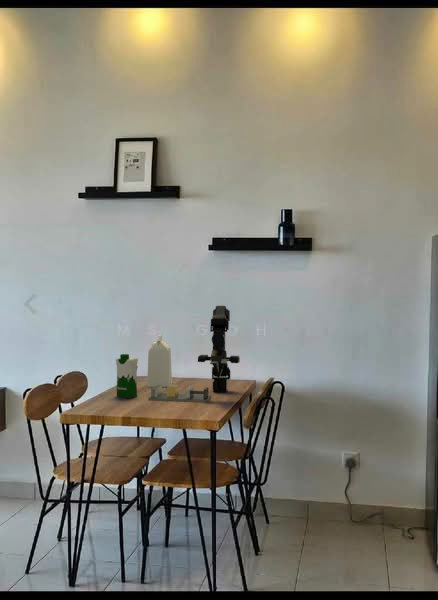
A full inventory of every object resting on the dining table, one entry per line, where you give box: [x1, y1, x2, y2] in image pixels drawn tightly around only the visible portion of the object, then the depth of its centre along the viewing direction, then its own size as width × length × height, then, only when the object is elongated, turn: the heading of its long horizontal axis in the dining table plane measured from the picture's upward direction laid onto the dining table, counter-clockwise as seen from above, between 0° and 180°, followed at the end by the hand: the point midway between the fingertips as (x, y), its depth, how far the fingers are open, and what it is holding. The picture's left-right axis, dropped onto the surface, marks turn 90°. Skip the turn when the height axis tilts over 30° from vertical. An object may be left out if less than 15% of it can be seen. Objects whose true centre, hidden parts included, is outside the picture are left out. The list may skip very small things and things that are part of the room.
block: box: [167, 383, 179, 398], centre depth 285 cm, size 4×7×5 cm, turn 171°
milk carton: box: [115, 353, 139, 399], centre depth 288 cm, size 9×9×20 cm
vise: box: [147, 385, 212, 403], centre depth 285 cm, size 27×12×5 cm, turn 81°
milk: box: [146, 334, 173, 388], centre depth 321 cm, size 12×12×26 cm
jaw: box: [184, 385, 209, 399], centre depth 283 cm, size 9×10×4 cm
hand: (218, 377), depth 282 cm, fingers closed
